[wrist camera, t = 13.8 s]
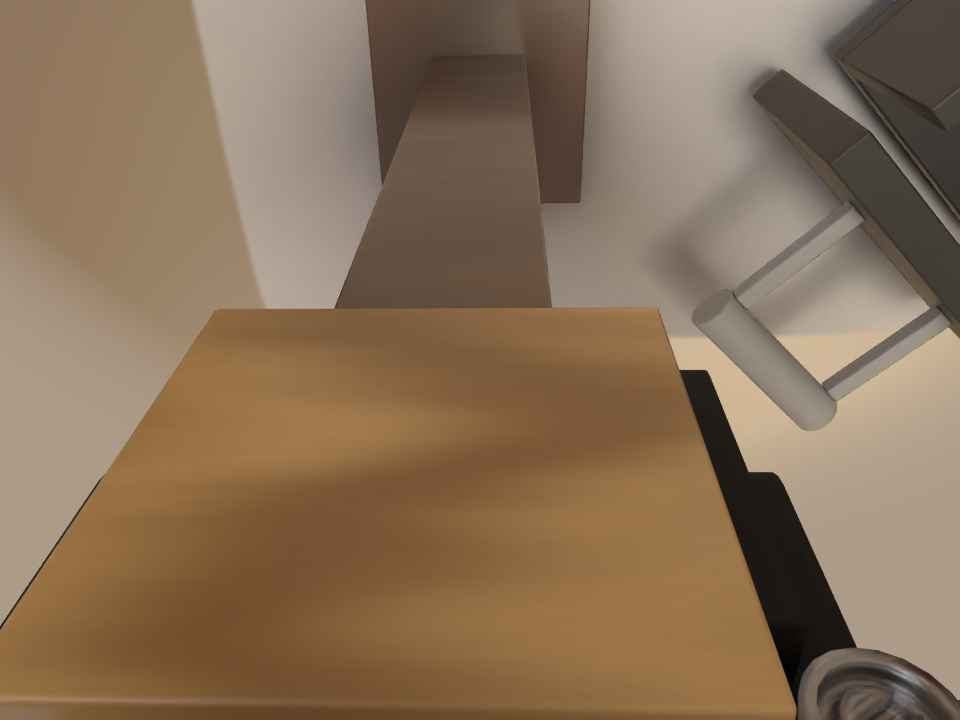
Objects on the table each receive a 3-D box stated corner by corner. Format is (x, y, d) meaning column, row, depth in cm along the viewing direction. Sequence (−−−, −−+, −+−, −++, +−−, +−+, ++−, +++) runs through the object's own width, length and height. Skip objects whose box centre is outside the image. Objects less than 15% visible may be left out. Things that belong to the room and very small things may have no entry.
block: (658, 306, 9) (802, 712, 4) (624, 612, 11) (694, 1054, 7) (214, 307, 9) (-52, 698, 5) (282, 609, 12) (149, 1038, 7)
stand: (587, -19, 25) (758, 206, 8) (577, 191, 29) (681, 648, 12) (370, -15, 25) (97, 212, 8) (387, 193, 29) (223, 643, 12)
